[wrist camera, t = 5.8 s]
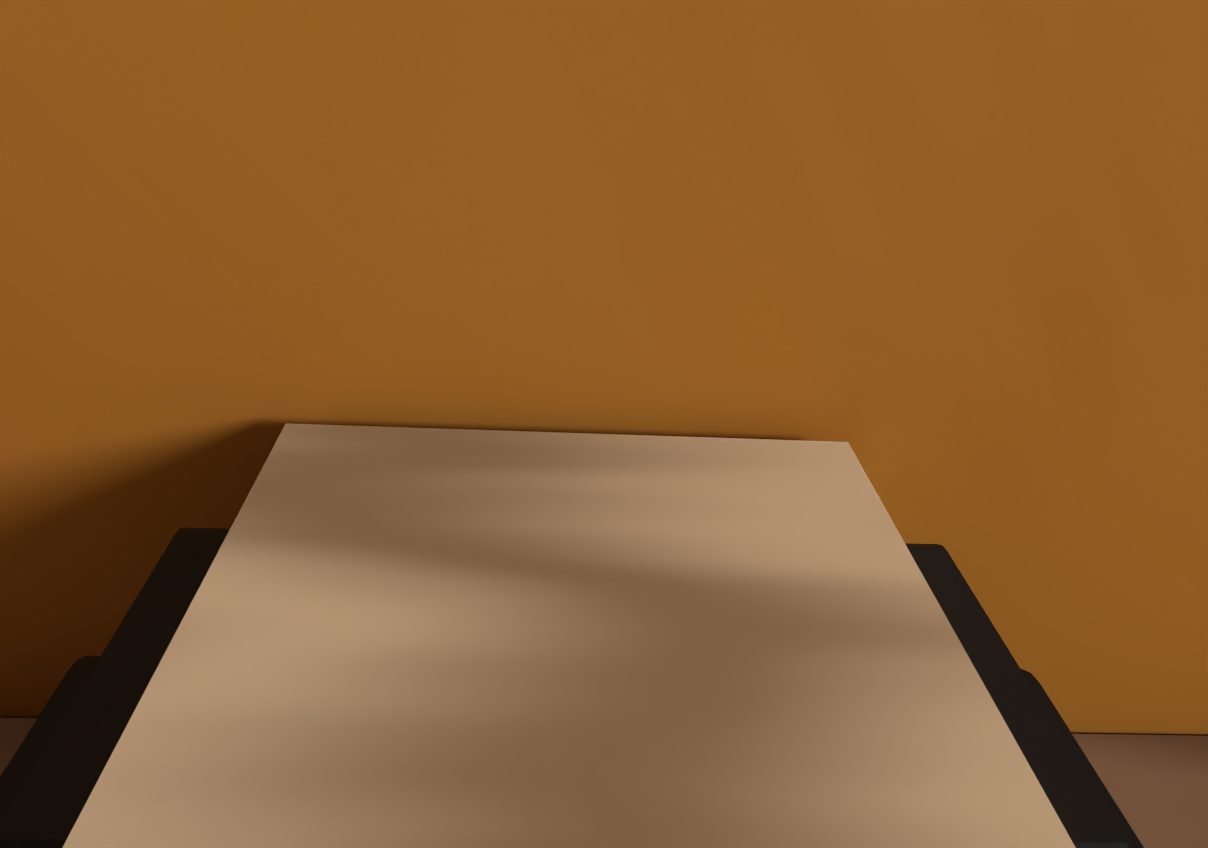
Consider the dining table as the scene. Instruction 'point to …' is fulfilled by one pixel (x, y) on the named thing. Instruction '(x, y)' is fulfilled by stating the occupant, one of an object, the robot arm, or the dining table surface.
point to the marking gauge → (564, 660)
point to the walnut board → (1123, 762)
